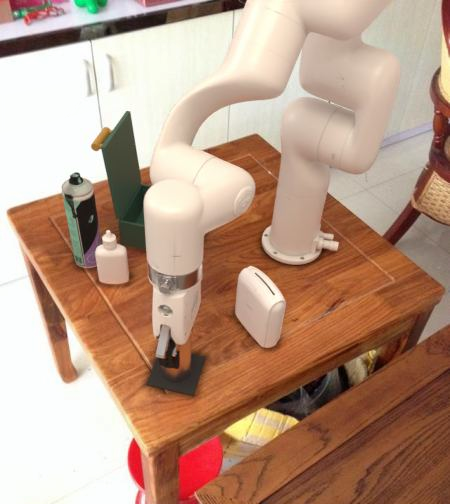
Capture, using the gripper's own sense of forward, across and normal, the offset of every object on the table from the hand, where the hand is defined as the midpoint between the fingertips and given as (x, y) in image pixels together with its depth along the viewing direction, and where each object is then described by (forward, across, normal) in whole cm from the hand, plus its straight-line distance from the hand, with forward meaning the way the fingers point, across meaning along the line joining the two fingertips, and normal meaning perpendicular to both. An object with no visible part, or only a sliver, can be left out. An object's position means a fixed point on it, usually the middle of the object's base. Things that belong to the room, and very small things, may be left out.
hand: (176, 346), depth 89 cm
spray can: (+7, +21, +24) cm, 33 cm away
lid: (-8, +33, +20) cm, 39 cm away
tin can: (+6, 0, 0) cm, 6 cm away
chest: (+7, +33, +12) cm, 36 cm away
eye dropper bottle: (+7, +17, +17) cm, 25 cm away
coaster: (+7, 0, 0) cm, 7 cm away
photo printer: (+7, +13, -11) cm, 18 cm away
